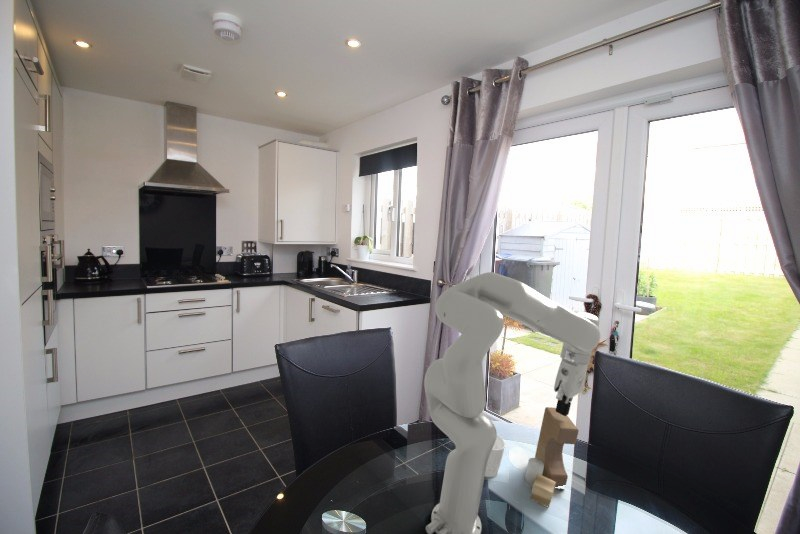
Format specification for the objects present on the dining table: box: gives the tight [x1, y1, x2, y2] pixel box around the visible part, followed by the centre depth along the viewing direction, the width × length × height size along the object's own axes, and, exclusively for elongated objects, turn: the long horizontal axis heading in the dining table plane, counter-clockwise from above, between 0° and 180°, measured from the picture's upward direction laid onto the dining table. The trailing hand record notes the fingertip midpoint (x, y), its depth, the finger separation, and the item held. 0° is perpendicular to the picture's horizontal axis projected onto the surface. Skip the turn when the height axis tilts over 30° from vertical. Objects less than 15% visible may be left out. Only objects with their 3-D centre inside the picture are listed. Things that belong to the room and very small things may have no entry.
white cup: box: [484, 434, 506, 478], centre depth 118 cm, size 8×8×10 cm
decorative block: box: [534, 406, 580, 487], centre depth 117 cm, size 11×6×20 cm, turn 2°
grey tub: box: [524, 457, 544, 486], centre depth 116 cm, size 4×4×6 cm
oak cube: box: [530, 474, 556, 508], centre depth 110 cm, size 5×5×5 cm
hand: (561, 413), depth 114 cm, fingers closed
